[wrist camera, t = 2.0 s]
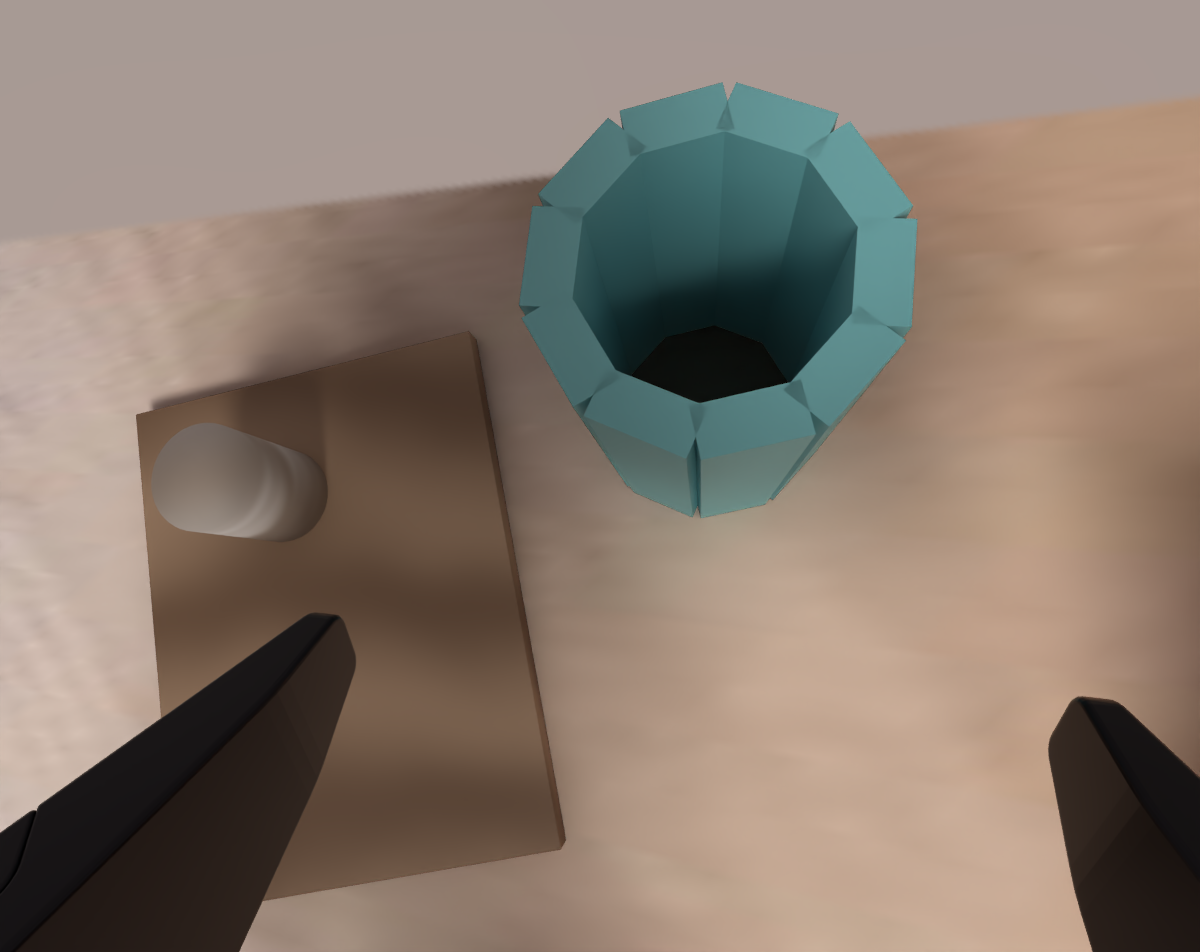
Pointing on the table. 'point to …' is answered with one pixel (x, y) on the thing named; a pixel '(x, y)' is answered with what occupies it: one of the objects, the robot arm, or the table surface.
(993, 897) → the table surface
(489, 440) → the peg board
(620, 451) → the teal collar
